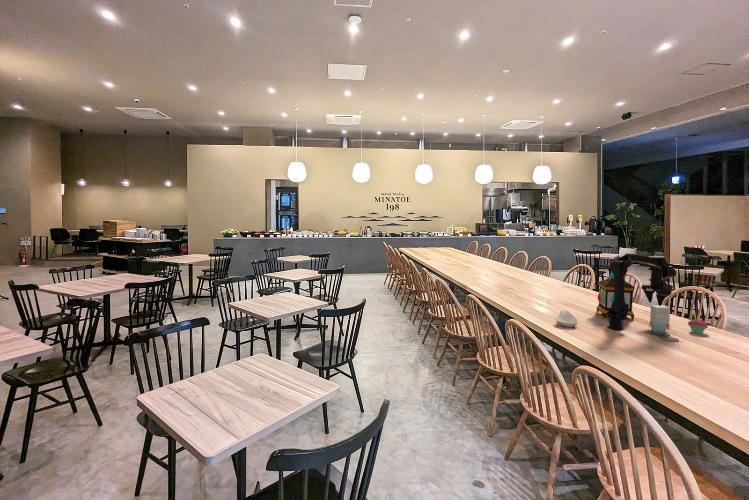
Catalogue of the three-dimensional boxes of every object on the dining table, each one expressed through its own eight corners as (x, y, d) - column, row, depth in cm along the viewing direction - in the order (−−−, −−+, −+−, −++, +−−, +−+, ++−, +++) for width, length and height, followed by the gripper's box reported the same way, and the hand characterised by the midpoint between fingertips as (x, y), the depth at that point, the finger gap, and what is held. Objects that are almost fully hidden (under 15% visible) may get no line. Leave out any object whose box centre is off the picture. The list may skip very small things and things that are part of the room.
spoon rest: (580, 329, 226) (580, 317, 225) (558, 328, 229) (558, 316, 228) (572, 319, 248) (572, 308, 248) (552, 318, 252) (552, 307, 251)
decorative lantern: (601, 319, 246) (603, 272, 244) (593, 311, 265) (595, 268, 263) (637, 321, 241) (639, 273, 238) (627, 313, 260) (628, 269, 257)
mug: (664, 336, 210) (664, 326, 210) (649, 334, 215) (650, 324, 215) (668, 332, 218) (669, 322, 217) (654, 329, 223) (655, 320, 222)
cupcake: (689, 333, 215) (690, 312, 214) (685, 329, 222) (687, 308, 221) (709, 335, 211) (710, 313, 210) (705, 331, 218) (706, 310, 217)
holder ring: (659, 337, 209) (659, 335, 209) (642, 331, 219) (642, 330, 219) (674, 335, 211) (674, 334, 211) (657, 330, 221) (657, 329, 221)
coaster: (670, 342, 200) (670, 341, 200) (654, 337, 209) (654, 336, 208) (683, 341, 202) (683, 340, 202) (667, 336, 210) (667, 335, 210)
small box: (663, 322, 238) (664, 305, 237) (669, 324, 232) (670, 307, 231) (649, 322, 238) (650, 305, 238) (655, 324, 233) (656, 307, 232)
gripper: (682, 280, 217) (680, 308, 218) (661, 275, 236) (659, 301, 237) (661, 280, 218) (659, 307, 219) (641, 275, 237) (640, 300, 238)
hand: (654, 304), depth 228 cm, fingers open, 9 cm apart
